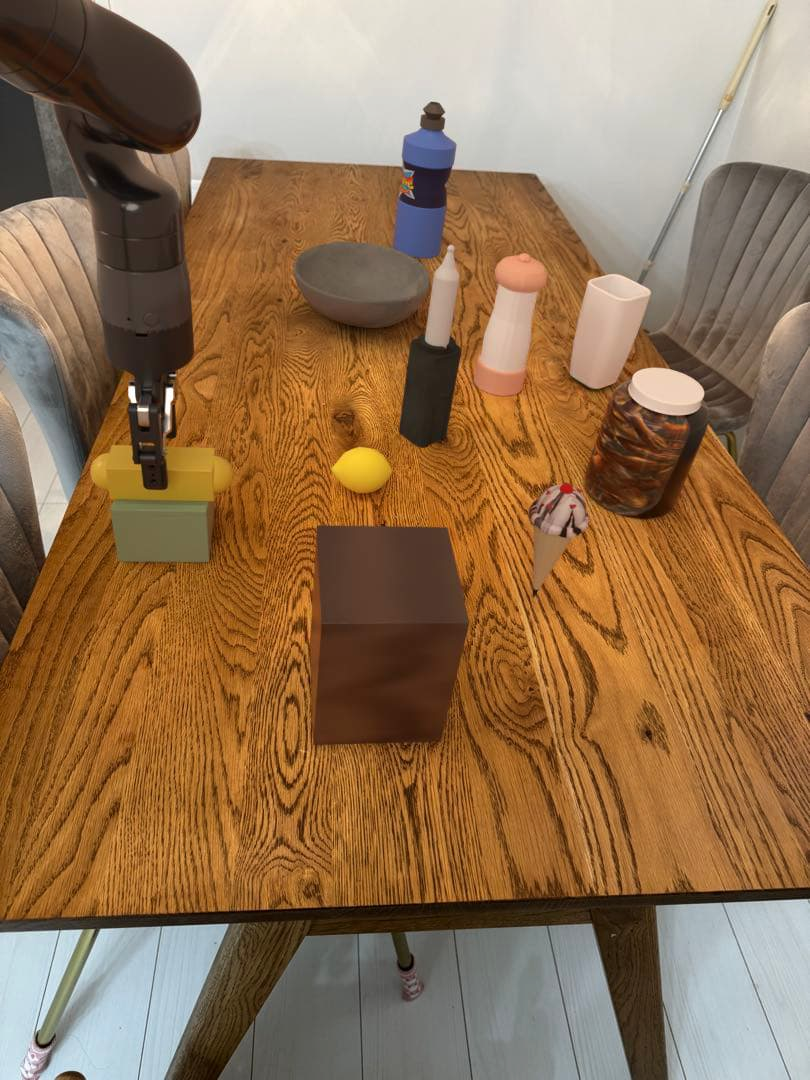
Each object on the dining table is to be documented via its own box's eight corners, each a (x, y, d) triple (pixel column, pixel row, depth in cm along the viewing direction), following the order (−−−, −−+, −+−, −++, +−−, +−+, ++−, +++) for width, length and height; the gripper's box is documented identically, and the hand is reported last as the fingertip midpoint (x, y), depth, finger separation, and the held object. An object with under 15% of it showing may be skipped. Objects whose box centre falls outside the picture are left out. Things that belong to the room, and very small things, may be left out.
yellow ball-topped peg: (89, 499, 80) (84, 467, 77) (96, 474, 83) (91, 443, 80) (233, 502, 82) (232, 471, 80) (235, 478, 85) (234, 448, 82)
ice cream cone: (535, 572, 88) (569, 459, 79) (572, 604, 85) (612, 491, 75) (495, 590, 85) (526, 476, 76) (532, 625, 82) (569, 510, 72)
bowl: (437, 304, 136) (444, 258, 131) (407, 360, 121) (413, 309, 116) (317, 278, 139) (319, 231, 134) (272, 329, 123) (272, 278, 118)
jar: (677, 529, 97) (723, 422, 87) (580, 506, 98) (615, 399, 88) (675, 474, 106) (716, 372, 96) (586, 454, 107) (618, 351, 97)
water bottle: (401, 258, 149) (418, 109, 133) (385, 239, 156) (400, 94, 140) (448, 257, 152) (470, 111, 136) (430, 238, 159) (450, 96, 143)
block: (118, 561, 82) (109, 509, 78) (130, 505, 89) (123, 454, 84) (209, 562, 84) (206, 511, 79) (214, 507, 90) (212, 457, 86)
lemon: (387, 476, 98) (392, 438, 95) (391, 504, 94) (396, 466, 91) (329, 474, 97) (332, 436, 94) (331, 502, 93) (333, 463, 90)
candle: (424, 419, 109) (452, 233, 93) (449, 437, 106) (483, 249, 90) (395, 429, 106) (419, 240, 90) (420, 449, 103) (450, 257, 87)
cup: (625, 385, 123) (656, 292, 113) (593, 397, 119) (623, 301, 109) (589, 364, 127) (616, 272, 117) (557, 375, 123) (583, 280, 113)
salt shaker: (465, 371, 120) (489, 243, 108) (510, 369, 122) (538, 243, 110) (484, 397, 115) (511, 266, 103) (530, 394, 117) (562, 265, 105)
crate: (312, 745, 68) (321, 623, 59) (309, 646, 77) (316, 524, 67) (441, 741, 70) (469, 622, 60) (424, 645, 78) (447, 526, 69)
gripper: (113, 269, 74) (131, 420, 85) (85, 344, 64) (110, 505, 74) (198, 275, 76) (205, 423, 86) (184, 349, 65) (194, 507, 75)
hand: (161, 461), depth 80 cm, fingers open, 8 cm apart
